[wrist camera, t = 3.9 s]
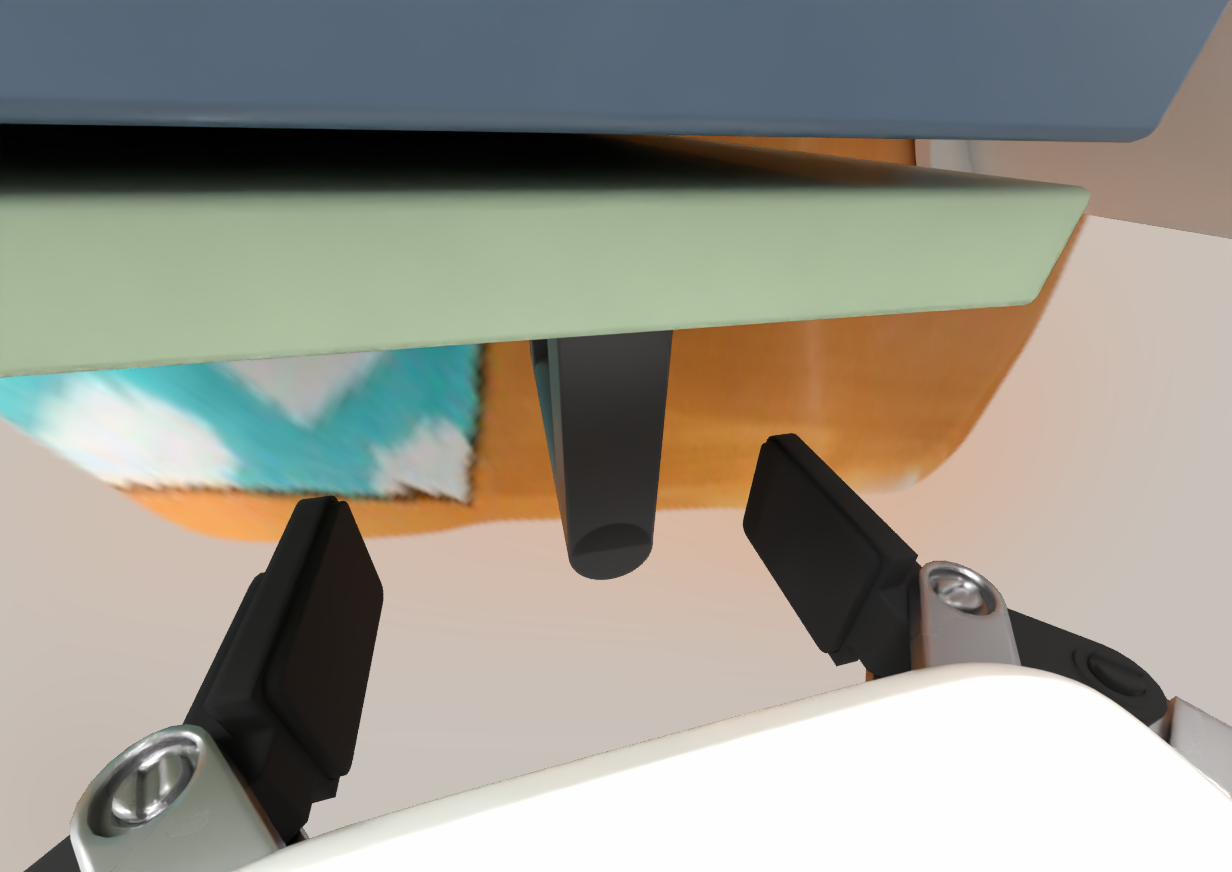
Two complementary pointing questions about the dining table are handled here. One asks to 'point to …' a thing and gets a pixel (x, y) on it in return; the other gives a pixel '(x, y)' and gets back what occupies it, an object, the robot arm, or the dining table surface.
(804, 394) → the dining table surface
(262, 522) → the dining table surface
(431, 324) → the door
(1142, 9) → the cupboard
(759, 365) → the dining table surface
